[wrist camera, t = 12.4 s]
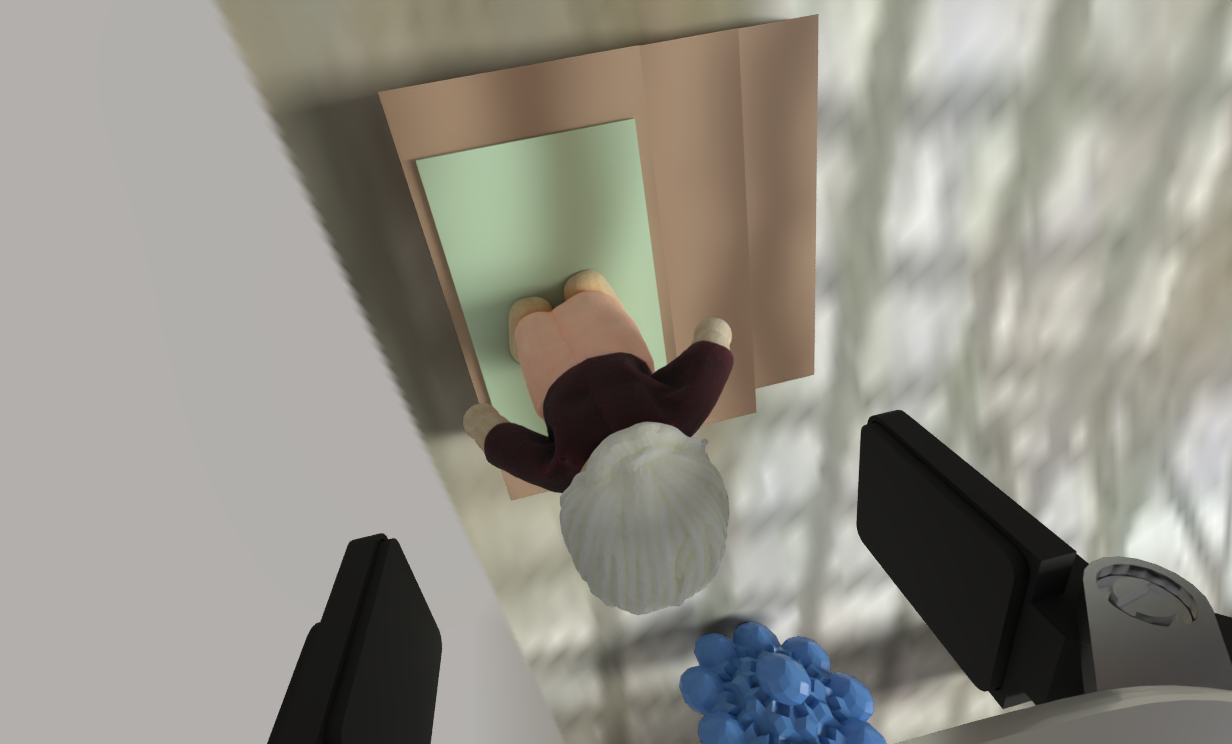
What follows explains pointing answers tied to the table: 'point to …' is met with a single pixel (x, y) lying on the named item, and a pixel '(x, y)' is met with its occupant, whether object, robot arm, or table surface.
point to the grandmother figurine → (618, 443)
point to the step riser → (627, 199)
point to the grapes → (774, 692)
